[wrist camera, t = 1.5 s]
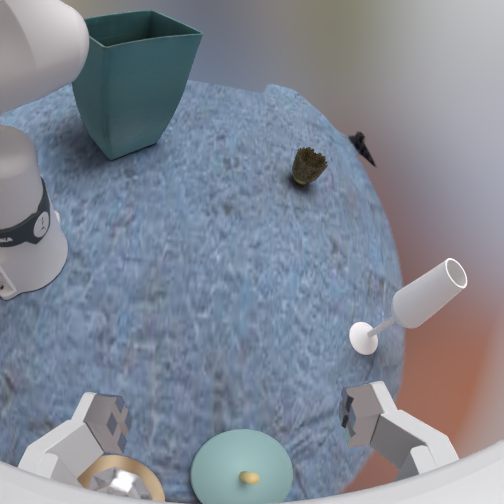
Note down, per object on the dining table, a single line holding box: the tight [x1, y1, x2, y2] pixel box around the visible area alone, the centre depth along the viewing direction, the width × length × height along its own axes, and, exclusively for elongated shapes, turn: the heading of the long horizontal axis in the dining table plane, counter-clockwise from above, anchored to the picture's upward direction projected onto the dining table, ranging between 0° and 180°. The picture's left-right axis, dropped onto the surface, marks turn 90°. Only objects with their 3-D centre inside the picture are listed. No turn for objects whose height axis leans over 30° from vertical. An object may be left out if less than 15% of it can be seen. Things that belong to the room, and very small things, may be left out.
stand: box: [77, 455, 165, 502], centre depth 30 cm, size 12×12×1 cm
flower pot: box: [72, 10, 203, 160], centre depth 56 cm, size 20×20×28 cm
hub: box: [190, 429, 293, 504], centre depth 35 cm, size 14×14×6 cm
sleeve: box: [88, 466, 153, 500], centre depth 26 cm, size 8×8×10 cm
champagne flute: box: [349, 258, 467, 355], centre depth 47 cm, size 7×7×24 cm
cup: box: [292, 147, 327, 186], centre depth 73 cm, size 8×7×8 cm
